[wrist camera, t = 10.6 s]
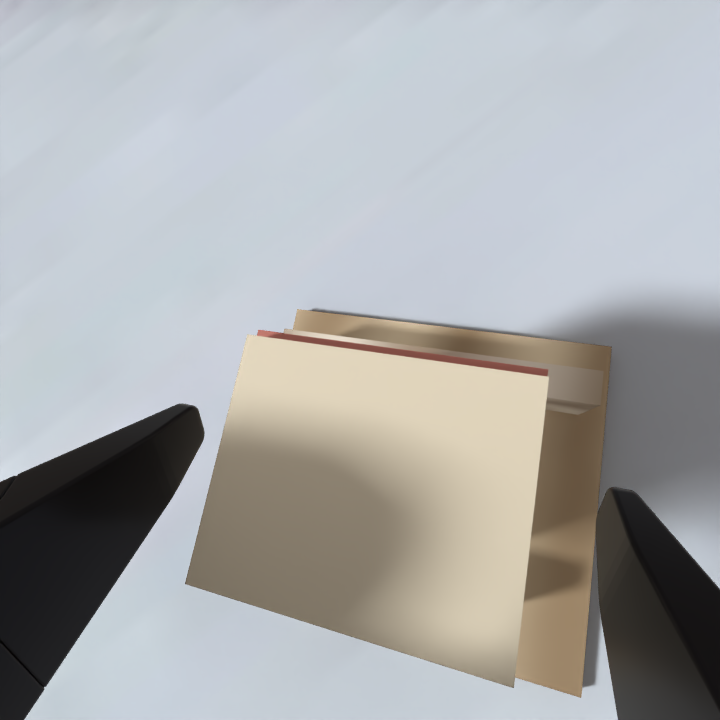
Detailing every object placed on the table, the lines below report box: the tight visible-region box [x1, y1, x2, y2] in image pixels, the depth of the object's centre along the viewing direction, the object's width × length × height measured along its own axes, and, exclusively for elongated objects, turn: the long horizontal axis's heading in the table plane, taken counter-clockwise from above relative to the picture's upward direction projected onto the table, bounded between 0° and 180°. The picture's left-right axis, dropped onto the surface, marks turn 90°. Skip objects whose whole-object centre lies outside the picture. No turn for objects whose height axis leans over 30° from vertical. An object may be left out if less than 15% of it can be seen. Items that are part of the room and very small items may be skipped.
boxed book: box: [185, 330, 549, 688], centre depth 13 cm, size 6×5×11 cm
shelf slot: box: [284, 309, 612, 698], centre depth 17 cm, size 14×13×4 cm
